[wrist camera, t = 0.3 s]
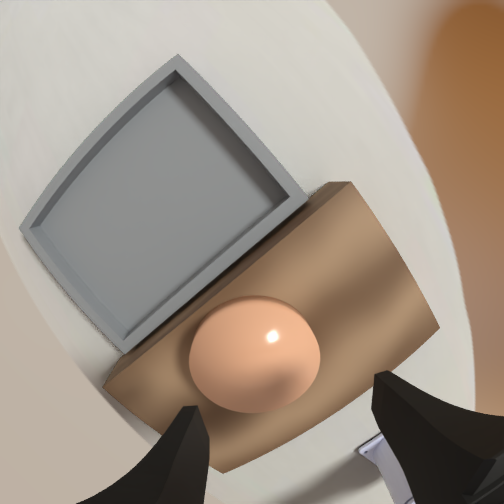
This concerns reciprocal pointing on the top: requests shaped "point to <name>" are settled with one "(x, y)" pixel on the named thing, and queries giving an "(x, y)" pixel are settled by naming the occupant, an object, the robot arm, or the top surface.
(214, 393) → the peach rounded disc
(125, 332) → the tray
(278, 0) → the top surface
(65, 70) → the top surface
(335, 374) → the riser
